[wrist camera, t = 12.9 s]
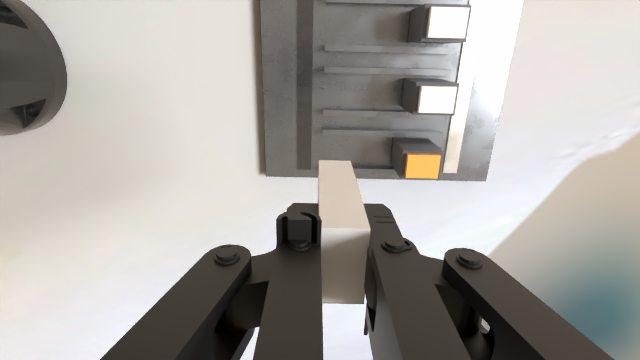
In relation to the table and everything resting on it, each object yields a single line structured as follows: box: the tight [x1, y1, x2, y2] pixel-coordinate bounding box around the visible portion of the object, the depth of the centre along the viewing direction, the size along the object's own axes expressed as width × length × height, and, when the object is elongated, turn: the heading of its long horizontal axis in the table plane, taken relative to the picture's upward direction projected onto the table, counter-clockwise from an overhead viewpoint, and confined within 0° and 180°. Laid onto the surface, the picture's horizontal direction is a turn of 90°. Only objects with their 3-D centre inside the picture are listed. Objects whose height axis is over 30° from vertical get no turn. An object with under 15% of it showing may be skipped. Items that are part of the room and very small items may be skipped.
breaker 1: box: [408, 3, 472, 44], centre depth 32 cm, size 4×3×6 cm
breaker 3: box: [391, 138, 443, 179], centre depth 37 cm, size 4×3×6 cm
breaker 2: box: [401, 78, 460, 116], centre depth 34 cm, size 4×3×6 cm
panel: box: [260, 0, 523, 181], centre depth 37 cm, size 26×20×2 cm
